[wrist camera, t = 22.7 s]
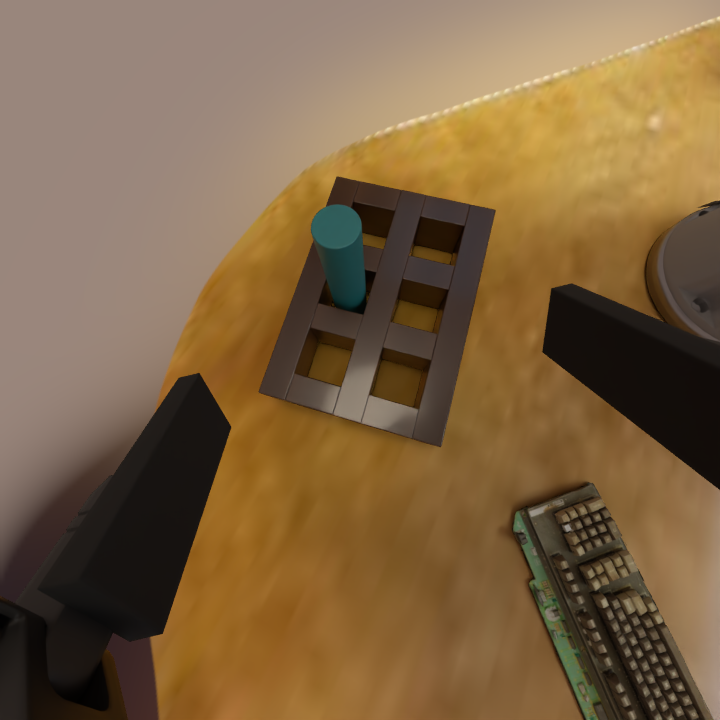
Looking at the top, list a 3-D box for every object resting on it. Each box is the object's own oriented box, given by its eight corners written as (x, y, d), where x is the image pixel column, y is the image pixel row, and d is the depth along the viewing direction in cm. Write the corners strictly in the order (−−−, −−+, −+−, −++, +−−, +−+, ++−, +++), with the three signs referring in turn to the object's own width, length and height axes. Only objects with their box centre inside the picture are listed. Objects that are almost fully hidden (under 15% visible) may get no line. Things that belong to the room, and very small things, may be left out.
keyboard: (742, 781, 22) (778, 816, 20) (628, 827, 22) (653, 866, 20) (593, 479, 27) (610, 483, 25) (498, 514, 27) (508, 520, 25)
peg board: (479, 239, 33) (495, 209, 28) (431, 444, 28) (441, 447, 24) (341, 208, 34) (336, 176, 30) (275, 397, 30) (257, 392, 26)
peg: (370, 297, 32) (367, 209, 19) (362, 325, 31) (353, 253, 19) (341, 289, 32) (319, 199, 20) (332, 317, 32) (303, 242, 19)
